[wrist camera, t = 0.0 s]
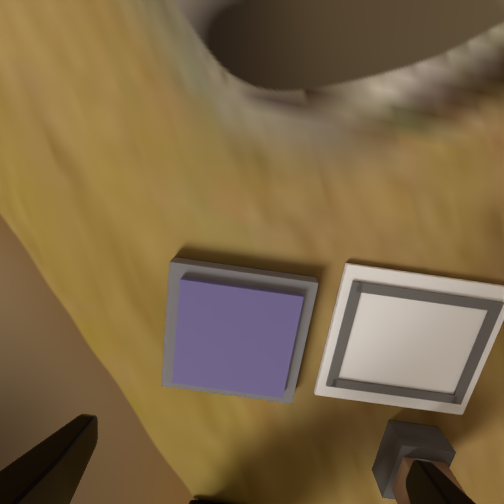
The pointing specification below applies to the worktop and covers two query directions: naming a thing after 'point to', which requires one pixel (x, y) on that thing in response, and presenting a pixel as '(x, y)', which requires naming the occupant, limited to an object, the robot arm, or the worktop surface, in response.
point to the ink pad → (235, 329)
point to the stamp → (409, 456)
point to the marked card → (409, 338)
